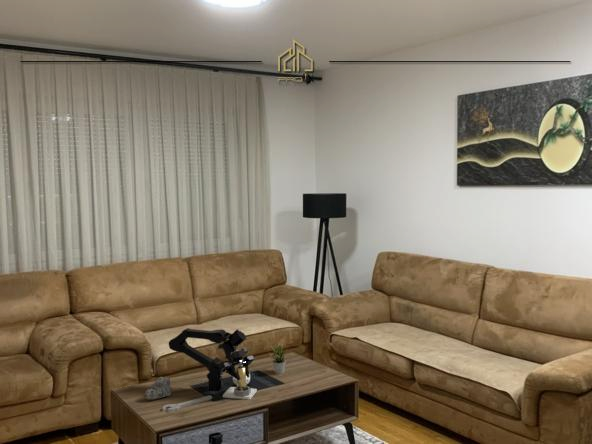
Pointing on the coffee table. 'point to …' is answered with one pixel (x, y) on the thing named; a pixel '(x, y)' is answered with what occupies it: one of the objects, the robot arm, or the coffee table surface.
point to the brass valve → (241, 378)
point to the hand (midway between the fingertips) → (243, 378)
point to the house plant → (278, 359)
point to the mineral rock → (159, 389)
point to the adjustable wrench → (185, 404)
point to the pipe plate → (239, 393)
